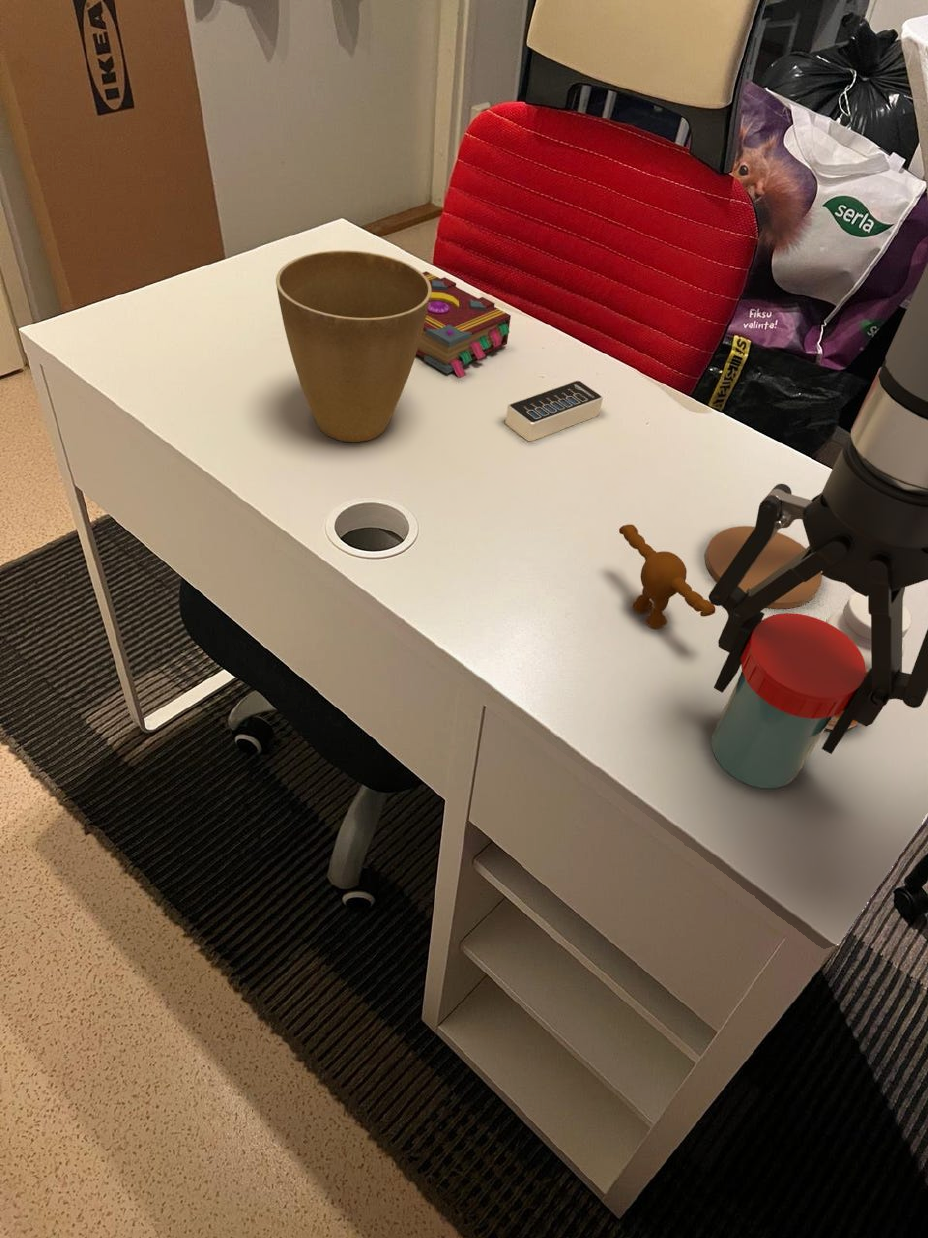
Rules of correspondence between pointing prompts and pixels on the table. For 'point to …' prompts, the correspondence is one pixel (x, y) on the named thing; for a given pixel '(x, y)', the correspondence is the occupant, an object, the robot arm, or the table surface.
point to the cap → (802, 665)
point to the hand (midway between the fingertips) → (778, 709)
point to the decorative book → (459, 327)
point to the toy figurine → (662, 581)
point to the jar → (762, 739)
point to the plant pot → (352, 335)
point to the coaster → (760, 563)
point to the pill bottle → (859, 632)
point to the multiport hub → (553, 410)
